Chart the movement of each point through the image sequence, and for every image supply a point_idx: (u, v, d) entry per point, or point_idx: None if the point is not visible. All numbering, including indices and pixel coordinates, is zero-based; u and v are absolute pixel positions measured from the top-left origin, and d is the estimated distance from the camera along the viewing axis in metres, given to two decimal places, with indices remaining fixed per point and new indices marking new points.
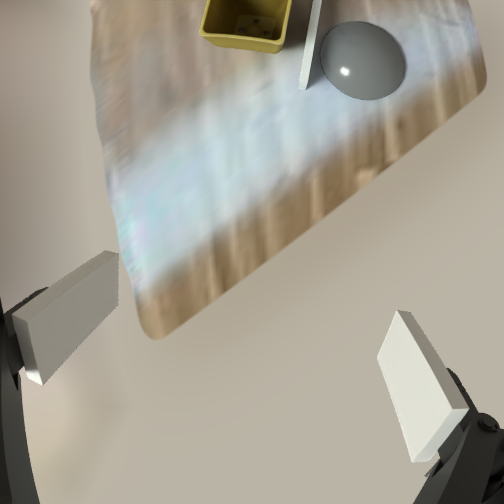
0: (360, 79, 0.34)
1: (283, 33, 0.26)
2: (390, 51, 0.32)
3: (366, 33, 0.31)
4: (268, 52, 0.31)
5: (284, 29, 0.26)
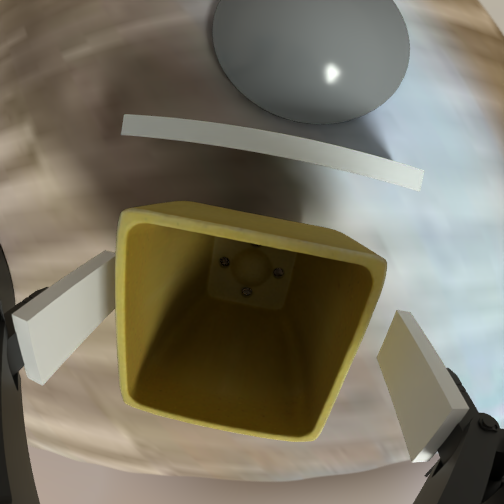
0: (368, 43, 0.14)
1: (351, 257, 0.09)
2: None
3: (243, 19, 0.14)
4: None
5: (336, 254, 0.09)
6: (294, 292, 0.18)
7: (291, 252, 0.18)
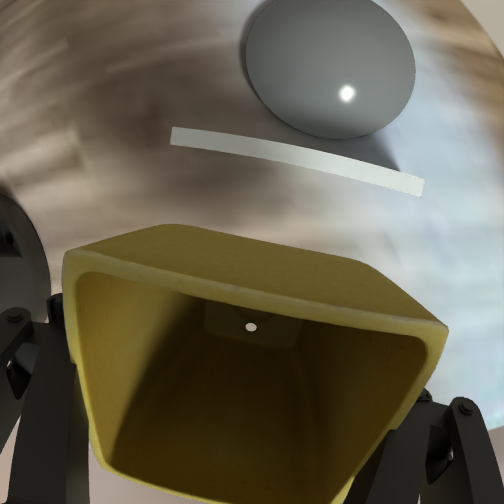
0: (379, 68, 0.16)
1: (403, 328, 0.06)
2: (305, 6, 0.16)
3: (272, 45, 0.17)
4: None
5: (382, 323, 0.06)
6: (308, 330, 0.15)
7: None
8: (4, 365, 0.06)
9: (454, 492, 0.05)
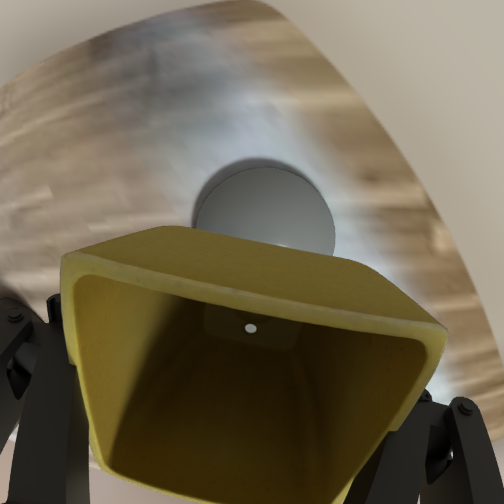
0: (302, 247, 0.25)
1: (402, 331, 0.06)
2: (242, 191, 0.24)
3: (215, 231, 0.25)
4: None
5: (381, 326, 0.06)
6: (308, 331, 0.15)
7: None
8: (4, 365, 0.06)
9: (454, 492, 0.05)
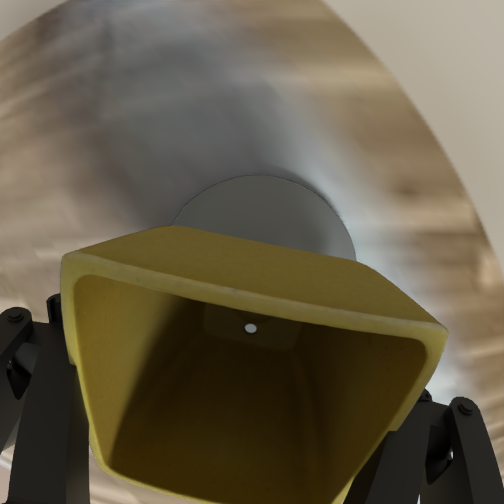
0: None
1: (402, 330, 0.06)
2: (225, 210, 0.17)
3: None
4: None
5: (381, 326, 0.06)
6: (308, 331, 0.15)
7: None
8: (4, 365, 0.06)
9: (454, 492, 0.05)
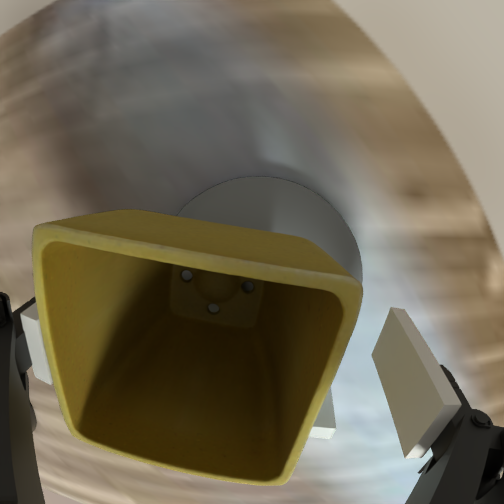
0: None
1: (311, 281, 0.07)
2: (224, 213, 0.16)
3: (186, 271, 0.17)
4: None
5: (289, 276, 0.07)
6: (266, 308, 0.16)
7: None
8: None
9: None
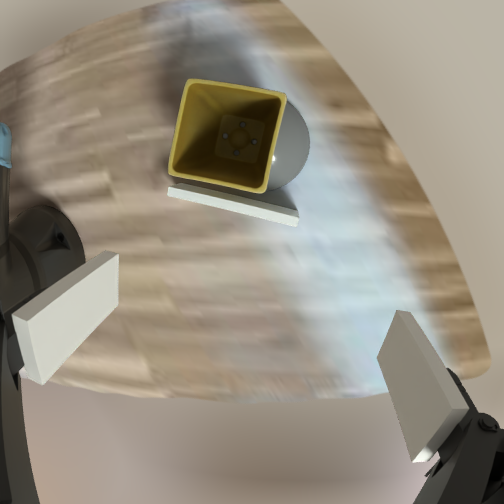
0: (285, 148, 0.33)
1: (271, 92, 0.24)
2: None
3: (224, 135, 0.34)
4: None
5: (265, 91, 0.24)
6: (262, 150, 0.33)
7: (260, 130, 0.33)
8: None
9: None
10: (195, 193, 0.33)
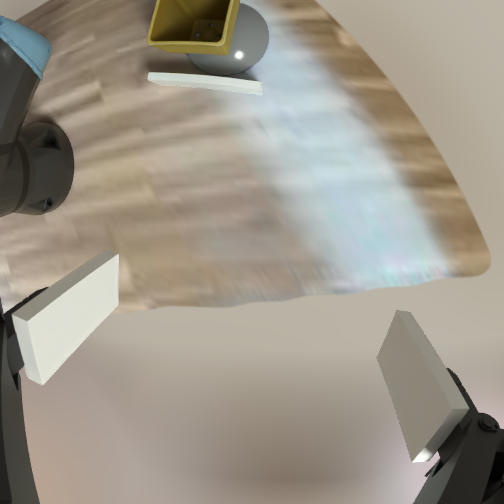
0: (248, 39, 0.34)
1: None
2: None
3: (196, 35, 0.34)
4: None
5: None
6: None
7: None
8: None
9: None
10: (171, 73, 0.33)
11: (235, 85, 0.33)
